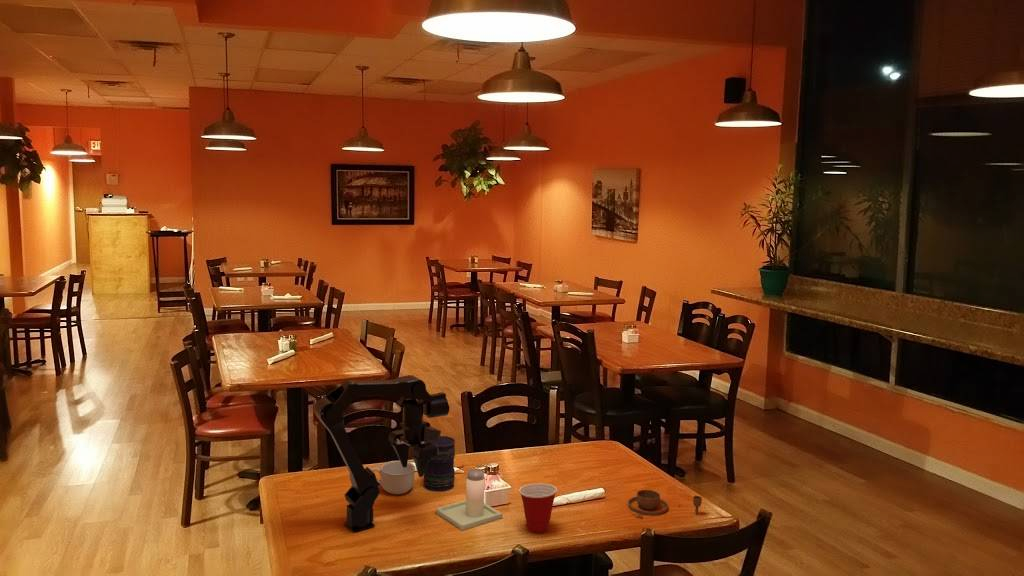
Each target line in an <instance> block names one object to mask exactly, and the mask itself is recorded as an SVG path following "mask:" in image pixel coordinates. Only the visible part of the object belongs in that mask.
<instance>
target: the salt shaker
mask: <svg viewBox="0 0 1024 576" xmlns="http://www.w3.org/2000/svg"><path fill="white" fill-rule="evenodd" d="M466 472H467V474H466V475H467V476H466V487H465V489H466V491H465V492H466V493H465V500H466V515H467V516H468V517H472V518H477V517H481V516H483V514H484V503H485V471H484V470H483V469H480V468H472V469H471V468H470V469H469V470H467V471H466Z"/></svg>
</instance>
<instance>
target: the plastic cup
mask: <svg viewBox="0 0 1024 576" xmlns="http://www.w3.org/2000/svg"><path fill="white" fill-rule="evenodd" d="M557 491H558V488H557V487H556V486H555V485H553V484H550V483H544V482H543V483H541V482H540V483H539V482H538V483H530V484H529V483H528V484H525V485H522V486H521V487H519V490H518V493H519V494H520V496H521V500H522V504H523V511H524V518H525V522H526V527H527V529H526V530H527V531H528V532H530V533H532V532H534V533H533V534H542V533H541V532H544V533H546V532H547V531H548V529H549V524H550V520H551V518H552V516H551V515H552V511H553V505H554V501H555V496H556V494H557ZM546 530H547V531H546ZM545 531H546V532H545Z"/></svg>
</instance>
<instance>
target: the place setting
mask: <svg viewBox="0 0 1024 576" xmlns="http://www.w3.org/2000/svg"><path fill="white" fill-rule="evenodd" d="M692 498H693V499H692V500H693V501H692V502H693V503H692V504H693V506H694V508H695V509H694V515H695V514H696V515H695V516H699V508H700V507H701V506H702V500H703V499H702V496H700V495H694V496H693V497H692ZM635 501H636V503H637V505H638V506H639V507H640V508H641V509H639V508H635V507H633V506H632V504H633V503H635ZM659 503H660V504H659ZM661 504H663V505H664V506H663V505H662V506H663V507H664V509H662V510H657V511H652V509H653V510H654V509H656V508H657V507H658V506H659V505H661ZM627 505H628V508H629V509H630V510H631V511H632V510H633V511H632V512H634V513H632V514H633V515H638V516H637V517H636V516H635V517H634V518H637V519H643V517H644V516H660V515H663V514H665V513H666V512H667V510H668V508H669V505H668V503H667V502H666V501H665V500H663V499H662V498H661V494H660V493H659V492H657V491H655V490H652V489H641V490H638V491H637V492H636V496H634V497H631V498H629V500H628V501H627ZM679 505H680V506H682V504H679ZM680 506H679V507H680ZM642 509H643V510H642ZM645 509H646V510H645ZM636 512H637V513H636ZM639 513H640V514H639ZM643 514H644V515H643ZM659 514H660V515H659ZM633 515H632V516H633Z"/></svg>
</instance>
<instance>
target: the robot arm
mask: <svg viewBox="0 0 1024 576" xmlns="http://www.w3.org/2000/svg"><path fill="white" fill-rule="evenodd" d="M373 396H374V397H379V396H380V397H381V396H383V397H384V396H396V397H400V399H399V400H397V401H396V402H395V405H396V406H397V407H399V408H400V409H402V422H399V426H400V427H401V428H402V429H398V430H394V431H393V430H392V431H391V432H390V433H389V434H388V442H389V443H390V446H391V447H392V448H393V450H394V451H395V452H394V453H395V454H396V455H397V458H398V461H400V462H401V464H402V466H403V467H404V468H405V467H407V462H409V461H408V458H409V450H410V447H412V448H413V449H412V451H413V452H412V453H413V456H412V457H413V461H414V466H415V470H416V472H417V474H418V477H419V478H424V472H425V469H426V466H427V464H428V462H429V460H430V459H431V458H433V457H435V456H436V455H438V447H437V446H435V445H434V444H432V443H430V442H428V443H424V442H426V441H428V439H430V440H435V441H437V442H438V440H439V437H440V436H441V433H442V431H441V429H438V428H436V427H433V426H431V423H430V422H428V421H424V416H426V417H427V418H428V419H431V418H436V417H437V418H438V417H445V416H448V415H449V412H450V405H449V402H448V401H449V400H448V398H447V394H446V393H445V392H443V391H441V392H438V393H429V391H427V386H426V383H425V381H423V380H422V379H421V378H419V377H416V376H414V375H413V374H409V375H408V374H407V375H404V376H403V375H401V376H399V377H396V378H394V379H375V380H373V379H372V380H366V379H365V380H352V379H346V380H345V381H343V382H342V383H341V384H340V385H339V386H338V387H336V388H335V389H332V390H331V391H329V392H328V393H327V394H326V395H325V396H324V397H322V398H320V399H318V400H317V401H316V402H315V404H314V405H313V413H314V415H315V416H316V418H317V419H318V420H319V421H320V422H321V424H322V425H323V426H324V428H326V430H327V431H328V432H329V433H330V436H331V439H332V440H333V441H334V444H335V446H336V448H337V450H338V452H339V454H340V456H341V457H342V460H343V462H344V464H345V466H346V468H347V470H348V472H349V478H350V483H351V484H350V485H351V486H350V488H349V489H348V490H347V491H346V492H345V494H344V498H345V500H346V502H347V503H349V504H347V505H346V521H344V522H343V525H345V526H346V528H348V529H349V530H350V531H352V532H353V533H358V532H360V531H361V532H362V531H365V530H368V529H372V528H374V527H375V526H376V525H375V524H374V508H373V507H374V506H375V505H374V504H375V501H376V500H377V498H378V497H379V495H380V493H381V490H380V484H379V483H378V482H377V479H378V478H377V475H376V472H375V471H374V472H373V471H371V468H370V467H368V466H365V467H364V465H363V464H362V463H363V462H362V461H361V459H360V457H359V455H358V453H357V451H356V449H355V447H354V444H353V443H352V441H351V440H352V439H350V436H349V434H348V432H347V430H346V428H345V419H344V416H343V414H344V412H345V411H347V410H348V408H350V407H349V406H350V405H351V403H352V402H353V401H354V399H355V398H356V397H373ZM419 399H420V400H419ZM376 478H377V479H376Z"/></svg>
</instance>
